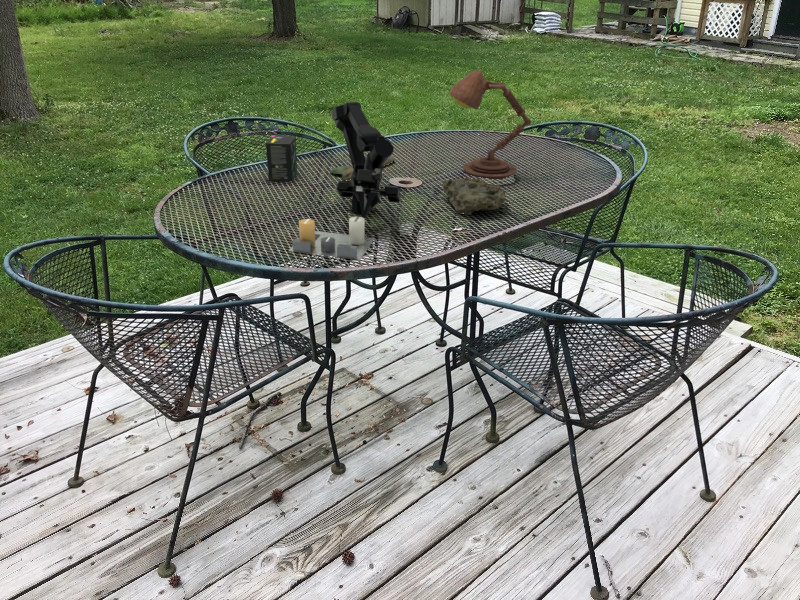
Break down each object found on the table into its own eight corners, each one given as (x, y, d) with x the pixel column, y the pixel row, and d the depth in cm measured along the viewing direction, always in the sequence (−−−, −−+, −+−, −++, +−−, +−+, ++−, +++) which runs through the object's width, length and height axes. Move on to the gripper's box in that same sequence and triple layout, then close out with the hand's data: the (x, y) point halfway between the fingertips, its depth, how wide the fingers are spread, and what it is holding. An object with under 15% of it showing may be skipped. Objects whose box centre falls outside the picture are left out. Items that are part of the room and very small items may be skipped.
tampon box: (274, 172, 250) (271, 134, 243) (297, 173, 250) (296, 135, 243) (267, 181, 240) (265, 142, 233) (292, 182, 240) (290, 143, 233)
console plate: (307, 233, 197) (307, 220, 195) (374, 241, 193) (374, 228, 191) (288, 254, 183) (287, 240, 181) (359, 263, 180) (359, 249, 178)
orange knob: (303, 240, 189) (302, 217, 185) (317, 242, 188) (316, 219, 184) (297, 246, 185) (296, 223, 181) (312, 248, 184) (311, 224, 181)
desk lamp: (438, 170, 258) (444, 65, 239) (514, 168, 264) (526, 65, 245) (451, 187, 240) (459, 74, 221) (533, 185, 246) (547, 74, 227)
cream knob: (351, 238, 191) (351, 215, 188) (366, 239, 191) (366, 216, 187) (347, 243, 188) (347, 220, 184) (362, 245, 187) (362, 222, 183)
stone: (439, 196, 232) (440, 173, 228) (489, 193, 236) (492, 171, 232) (460, 221, 210) (462, 196, 206) (516, 217, 215) (519, 193, 211)
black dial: (323, 246, 186) (323, 235, 185) (337, 247, 186) (336, 237, 184) (319, 251, 183) (318, 241, 182) (332, 253, 182) (332, 242, 181)
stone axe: (394, 152, 266) (396, 166, 239) (395, 164, 268) (397, 179, 241) (331, 157, 266) (326, 171, 239) (333, 169, 268) (328, 185, 240)
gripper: (337, 154, 191) (326, 202, 186) (399, 159, 187) (390, 208, 183) (345, 172, 201) (335, 218, 197) (404, 178, 198) (395, 225, 193)
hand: (363, 217), depth 192 cm, fingers closed
